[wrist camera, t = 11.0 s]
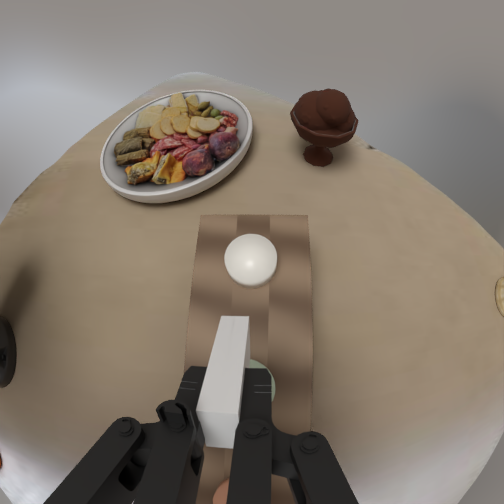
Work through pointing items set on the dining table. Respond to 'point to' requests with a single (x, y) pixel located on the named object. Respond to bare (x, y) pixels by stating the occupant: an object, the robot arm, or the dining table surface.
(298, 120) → the ice cream bowl
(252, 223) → the console
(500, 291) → the hand bell
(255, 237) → the cream button
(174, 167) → the bowl
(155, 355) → the dining table surface
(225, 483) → the terracotta button
